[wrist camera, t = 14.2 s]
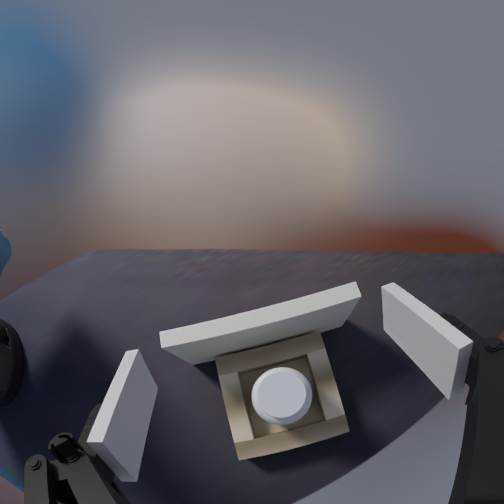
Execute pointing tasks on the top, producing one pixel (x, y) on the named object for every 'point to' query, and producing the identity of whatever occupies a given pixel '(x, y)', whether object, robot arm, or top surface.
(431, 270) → the top surface
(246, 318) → the white backstop wall
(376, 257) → the top surface
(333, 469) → the top surface
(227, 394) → the birch socket block
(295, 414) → the supplement bottle
